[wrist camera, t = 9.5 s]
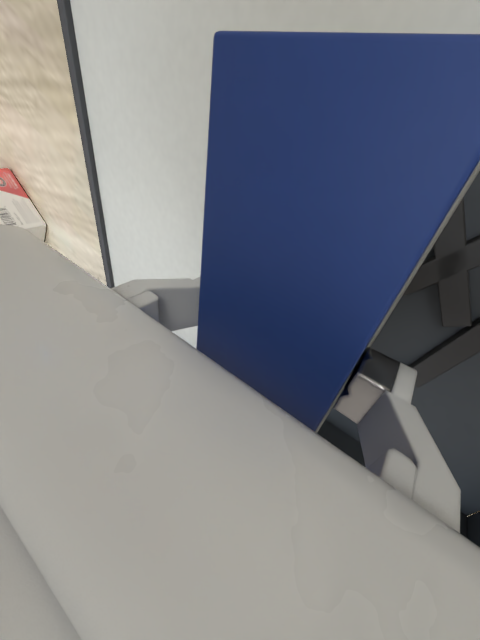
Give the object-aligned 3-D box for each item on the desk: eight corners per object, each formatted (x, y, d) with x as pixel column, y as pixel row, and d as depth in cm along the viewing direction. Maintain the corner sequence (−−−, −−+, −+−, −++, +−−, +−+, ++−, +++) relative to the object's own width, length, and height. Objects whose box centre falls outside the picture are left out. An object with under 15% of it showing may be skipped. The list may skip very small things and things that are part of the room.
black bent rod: (492, 313, 11) (493, 319, 11) (522, 368, 11) (524, 376, 11) (325, 356, 17) (322, 361, 16) (346, 391, 17) (344, 397, 17)
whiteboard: (74, -53, 15) (44, -69, 14) (577, -107, 7) (599, -158, 6) (121, 290, 30) (108, 295, 29) (295, 413, 22) (286, 427, 20)
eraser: (307, 74, 7) (207, 28, 5) (526, 94, 5) (570, 32, 3) (238, 385, 16) (189, 432, 13) (312, 440, 14) (271, 508, 11)
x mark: (439, 180, 10) (438, 181, 10) (570, 214, 9) (575, 217, 8) (374, 290, 13) (372, 295, 13) (462, 329, 12) (461, 335, 11)
